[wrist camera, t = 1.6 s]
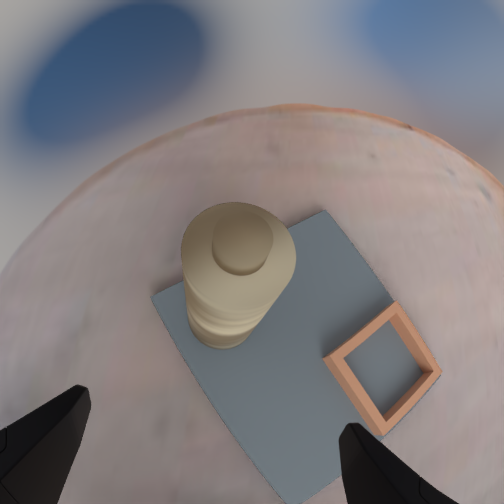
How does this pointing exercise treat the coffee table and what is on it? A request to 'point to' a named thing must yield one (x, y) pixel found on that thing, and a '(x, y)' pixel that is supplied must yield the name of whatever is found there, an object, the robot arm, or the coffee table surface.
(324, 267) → the board
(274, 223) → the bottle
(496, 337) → the coffee table surface
